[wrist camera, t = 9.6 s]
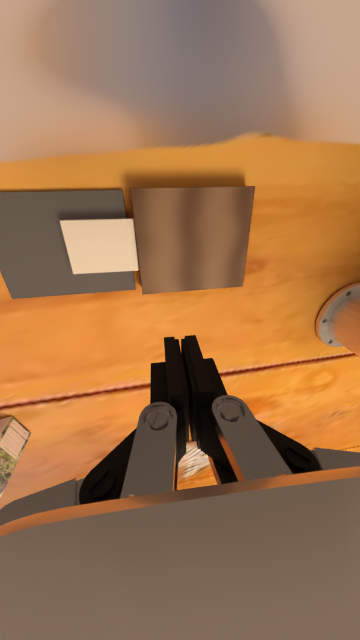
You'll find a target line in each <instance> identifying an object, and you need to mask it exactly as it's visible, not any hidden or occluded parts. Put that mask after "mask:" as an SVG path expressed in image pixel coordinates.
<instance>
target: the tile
mask: <svg viewBox="0 0 360 640" xmlns="http://www.w3.org/2000/svg"><path fill="white" fill-rule="evenodd" d="M60 224H61V228H62V232H63V236H64V240H65V244H66V248H67V252H68V255H69V259H70V263H71V267H72V271H73V274H85V273H104V272H122V271H139V263H138V254H137V244H136V235H135V225H134V218H125V219H83V220H61V221H60Z"/></svg>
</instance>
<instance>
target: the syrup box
mask: <svg viewBox="0 0 360 640" xmlns="http://www.w3.org/2000/svg"><path fill="white" fill-rule="evenodd" d="M30 435H31V433H30V432H29V431H28V430H27V429H26V428H25V427H24V426H22V425H21V424H20V423H19V422H18V421H17V420H16V419H15V418H14V417H12V416H10V417H7V418H3V419H1V420H0V497H1V495H2V493H3V491H4V489H5V487H6V485H7V483H8V481H9V479H10V476H11V474H12V472H13V470H14V468H15V466H16V464H17V462H18V460H19V458H20V456H21V454H22V451H23V449H24V447H25V445H26V443H27V441H28V439H29V437H30Z"/></svg>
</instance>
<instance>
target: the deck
mask: <svg viewBox="0 0 360 640" xmlns="http://www.w3.org/2000/svg"><path fill="white" fill-rule="evenodd" d="M254 191H255V186H241V187H186V188H131V197H132V205H133V214H134V223H135V231H136V240H137V249H138V257H139V266H140V275H141V283H142V292H143V294H154V293H166V292H179V291H191V290H204V289H217V288H229V287H242V286H243V282H244V274H245V265H246V257H247V249H248V241H249V232H250V224H251V216H252V208H253V199H254Z"/></svg>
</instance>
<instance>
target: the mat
mask: <svg viewBox="0 0 360 640" xmlns="http://www.w3.org/2000/svg"><path fill="white" fill-rule="evenodd" d="M125 218H126V211H125V203H124V195H123V190H94V191H41V192H0V271H1V274H2V276H3V278H4V281H5V283H6V285H7V288H8V290H9V292H10V295H11V297H12V299H17V298H31V297H44V296H57V295H70V294H83V293H96V292H110V291H123V290H136V287H135V280H134V272H133V271H122V272H104V273H85V274H73V271H72V267H71V263H70V259H69V255H68V252H67V248H66V244H65V240H64V236H63V232H62V228H61V224H60V221H61V220H83V219H125Z"/></svg>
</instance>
